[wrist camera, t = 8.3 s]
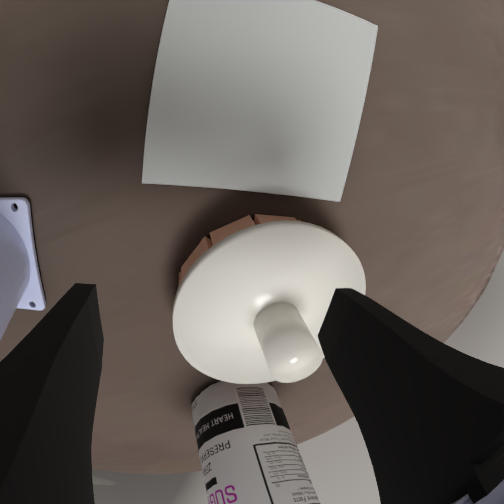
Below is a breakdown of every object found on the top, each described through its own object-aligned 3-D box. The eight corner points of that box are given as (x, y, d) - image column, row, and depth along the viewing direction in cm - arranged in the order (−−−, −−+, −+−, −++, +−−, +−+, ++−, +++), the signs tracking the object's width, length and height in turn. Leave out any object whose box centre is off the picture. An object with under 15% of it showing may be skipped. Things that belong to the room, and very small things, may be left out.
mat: (142, 181, 16) (141, 183, 16) (176, -26, 11) (177, -28, 10) (336, 199, 19) (339, 201, 19) (374, 26, 14) (378, 26, 14)
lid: (171, 378, 20) (177, 432, 16) (178, 212, 14) (182, 259, 10) (326, 367, 23) (349, 409, 19) (383, 229, 18) (429, 266, 14)
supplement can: (274, 410, 30) (322, 532, 17) (198, 425, 28) (228, 555, 16) (274, 364, 26) (339, 519, 13) (181, 382, 24) (212, 550, 12)
